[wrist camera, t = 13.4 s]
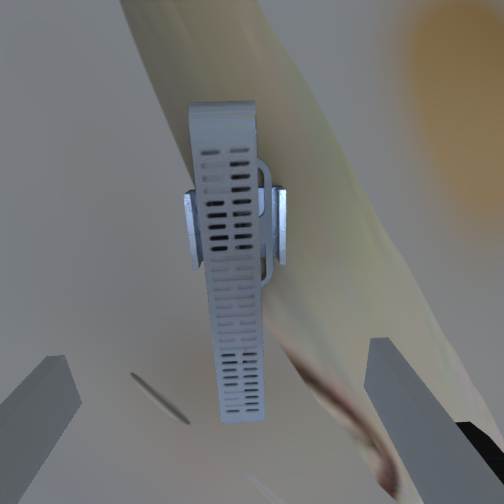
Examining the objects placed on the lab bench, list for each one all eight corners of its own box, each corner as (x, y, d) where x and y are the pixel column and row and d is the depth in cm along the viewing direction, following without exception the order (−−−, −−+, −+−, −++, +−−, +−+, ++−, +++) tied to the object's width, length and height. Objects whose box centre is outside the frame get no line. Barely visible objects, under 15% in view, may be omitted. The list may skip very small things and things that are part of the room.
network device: (199, 129, 33) (143, 99, 14) (270, 126, 33) (306, 93, 14) (217, 308, 42) (196, 434, 23) (273, 305, 42) (297, 428, 23)
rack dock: (190, 189, 37) (183, 194, 33) (281, 185, 37) (286, 190, 33) (198, 257, 40) (192, 269, 36) (281, 253, 41) (285, 264, 36)
